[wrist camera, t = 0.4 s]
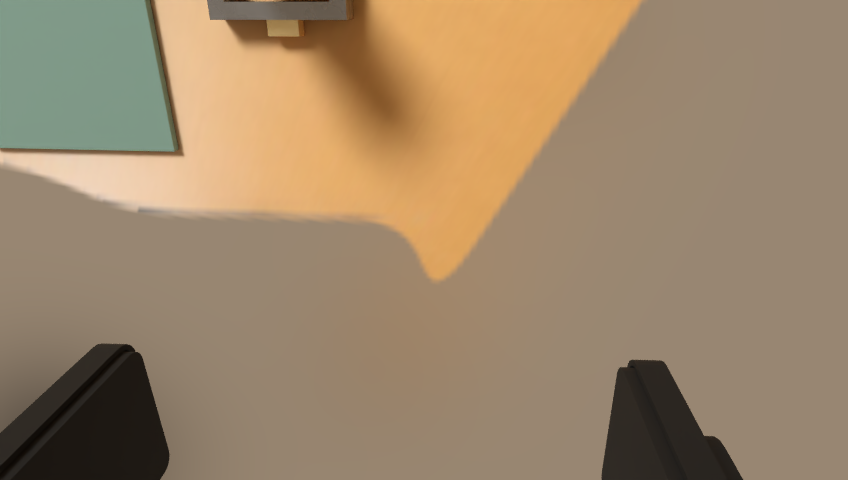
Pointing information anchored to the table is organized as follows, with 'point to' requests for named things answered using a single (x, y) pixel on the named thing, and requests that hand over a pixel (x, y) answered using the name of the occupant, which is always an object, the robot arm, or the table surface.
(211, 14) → the grey picture frame
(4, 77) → the mat
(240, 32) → the table surface
